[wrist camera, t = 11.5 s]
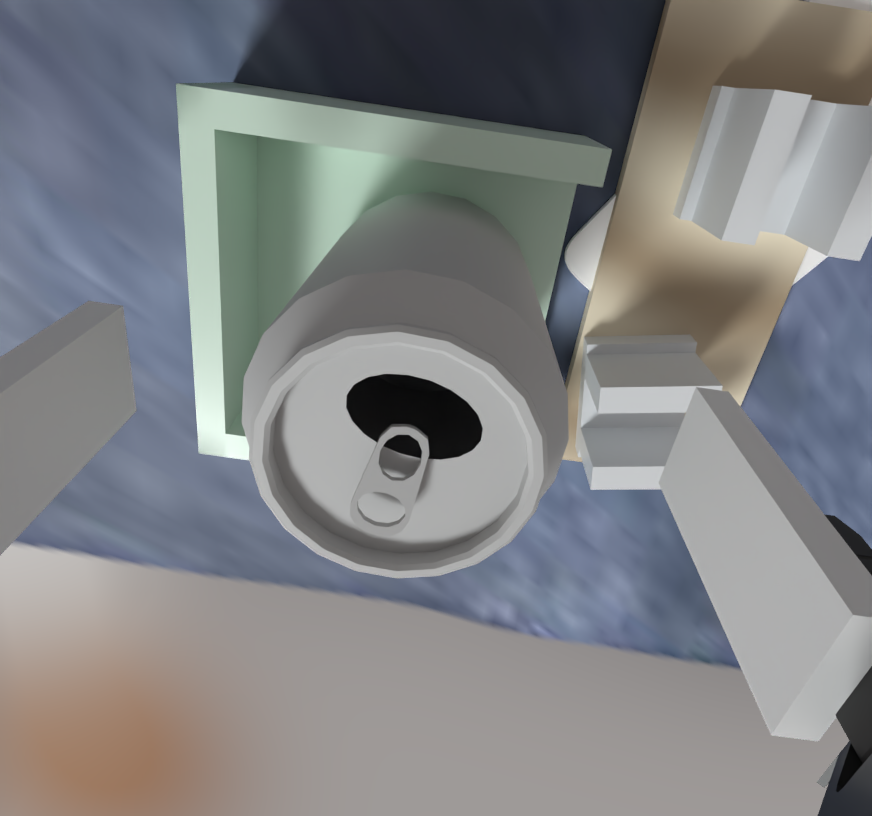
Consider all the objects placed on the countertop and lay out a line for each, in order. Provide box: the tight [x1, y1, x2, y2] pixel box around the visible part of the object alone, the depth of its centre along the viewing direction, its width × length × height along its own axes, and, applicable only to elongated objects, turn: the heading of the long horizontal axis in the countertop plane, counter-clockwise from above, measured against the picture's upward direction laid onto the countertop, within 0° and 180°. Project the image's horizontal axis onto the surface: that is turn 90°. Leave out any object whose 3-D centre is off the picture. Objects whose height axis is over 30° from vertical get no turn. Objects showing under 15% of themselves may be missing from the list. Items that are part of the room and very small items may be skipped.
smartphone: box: [564, 0, 872, 292], centre depth 21 cm, size 7×1×15 cm
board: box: [562, 0, 872, 462], centre depth 23 cm, size 17×7×1 cm, turn 172°
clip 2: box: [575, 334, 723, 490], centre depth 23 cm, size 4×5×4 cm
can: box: [242, 192, 569, 578], centre depth 18 cm, size 8×8×12 cm
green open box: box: [176, 82, 612, 460], centre depth 22 cm, size 12×12×4 cm
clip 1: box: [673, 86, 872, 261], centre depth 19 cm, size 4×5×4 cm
